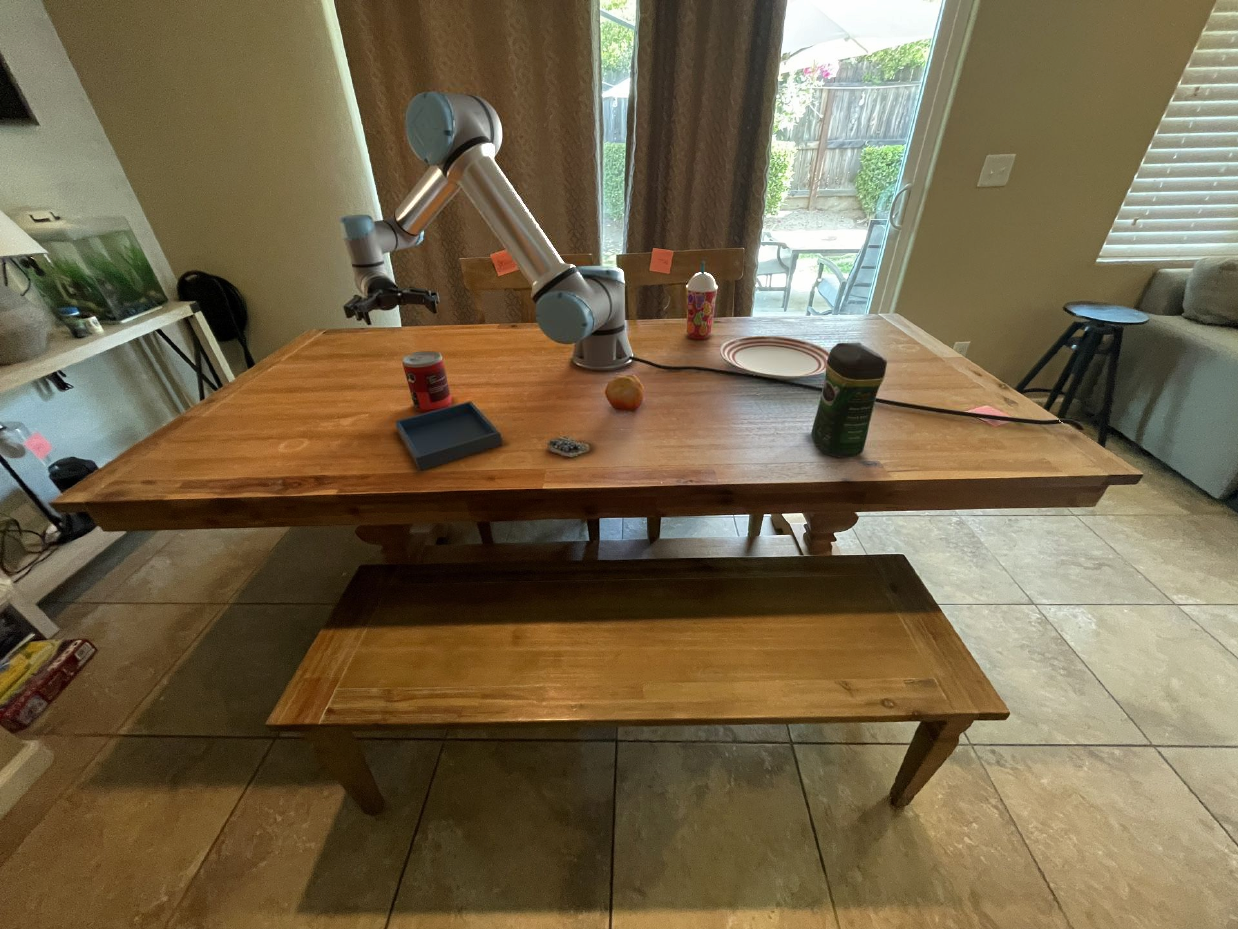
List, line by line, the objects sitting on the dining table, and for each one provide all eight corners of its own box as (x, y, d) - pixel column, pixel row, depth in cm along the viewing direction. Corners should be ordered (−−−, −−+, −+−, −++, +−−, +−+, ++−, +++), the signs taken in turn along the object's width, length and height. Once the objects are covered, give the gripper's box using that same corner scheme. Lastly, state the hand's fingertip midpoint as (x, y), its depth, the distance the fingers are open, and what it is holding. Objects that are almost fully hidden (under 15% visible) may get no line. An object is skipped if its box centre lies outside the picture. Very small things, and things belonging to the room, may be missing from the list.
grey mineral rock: (551, 438, 96) (550, 429, 95) (592, 439, 96) (592, 431, 95) (543, 457, 91) (542, 448, 90) (587, 458, 90) (586, 449, 89)
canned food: (419, 398, 113) (406, 351, 107) (455, 396, 113) (445, 349, 107) (410, 414, 106) (396, 365, 100) (448, 412, 107) (437, 363, 101)
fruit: (651, 392, 109) (645, 370, 102) (642, 423, 106) (636, 402, 99) (616, 387, 112) (608, 365, 104) (606, 418, 108) (598, 397, 101)
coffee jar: (869, 458, 88) (899, 357, 78) (826, 461, 88) (850, 360, 78) (844, 431, 96) (868, 336, 86) (804, 433, 96) (823, 339, 86)
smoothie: (712, 331, 146) (718, 258, 135) (714, 341, 139) (720, 265, 128) (683, 331, 147) (687, 258, 136) (684, 340, 140) (687, 265, 129)
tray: (502, 445, 95) (500, 432, 93) (419, 470, 88) (415, 458, 87) (473, 412, 106) (470, 400, 105) (398, 433, 100) (394, 421, 98)
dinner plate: (790, 340, 138) (792, 328, 137) (859, 377, 117) (862, 364, 115) (699, 354, 131) (700, 341, 130) (755, 396, 110) (757, 382, 108)
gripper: (435, 298, 129) (462, 319, 114) (330, 316, 118) (344, 341, 103) (429, 268, 125) (456, 285, 110) (319, 283, 114) (331, 304, 99)
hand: (401, 312), depth 107 cm, fingers open, 13 cm apart
